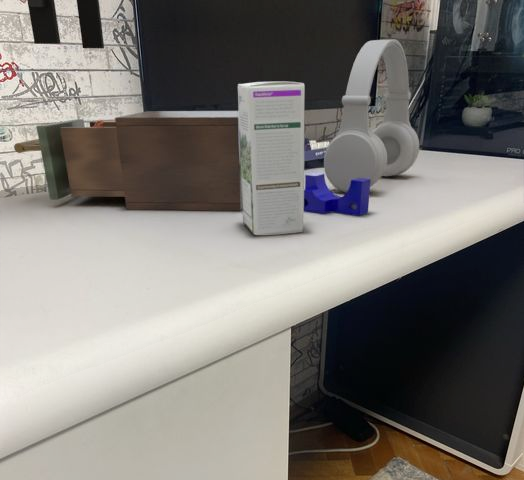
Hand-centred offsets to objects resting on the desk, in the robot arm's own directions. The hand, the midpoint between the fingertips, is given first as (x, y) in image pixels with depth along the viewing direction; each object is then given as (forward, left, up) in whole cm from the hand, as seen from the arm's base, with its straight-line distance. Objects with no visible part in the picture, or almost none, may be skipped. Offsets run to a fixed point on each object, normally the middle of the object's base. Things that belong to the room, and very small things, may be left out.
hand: (72, 46), depth 66 cm
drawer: (+1, 0, -18) cm, 18 cm away
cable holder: (+31, +13, -19) cm, 38 cm away
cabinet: (+12, +8, -19) cm, 23 cm away
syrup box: (+30, +2, -19) cm, 35 cm away
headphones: (+26, +33, -19) cm, 46 cm away
